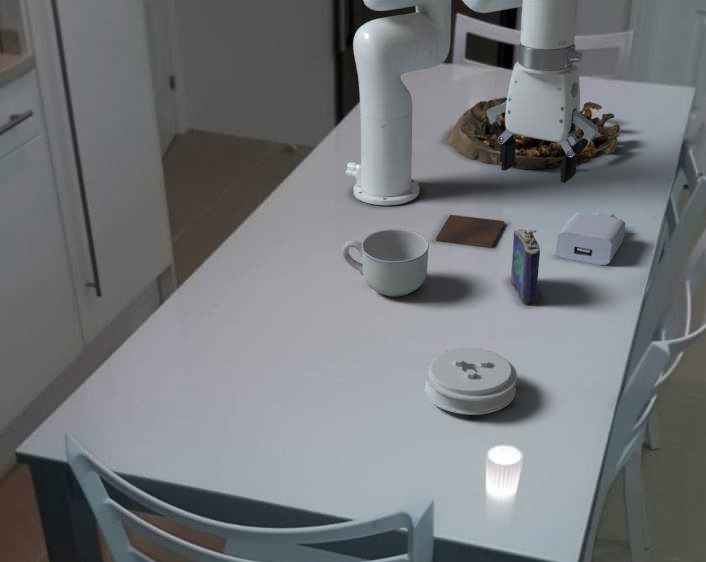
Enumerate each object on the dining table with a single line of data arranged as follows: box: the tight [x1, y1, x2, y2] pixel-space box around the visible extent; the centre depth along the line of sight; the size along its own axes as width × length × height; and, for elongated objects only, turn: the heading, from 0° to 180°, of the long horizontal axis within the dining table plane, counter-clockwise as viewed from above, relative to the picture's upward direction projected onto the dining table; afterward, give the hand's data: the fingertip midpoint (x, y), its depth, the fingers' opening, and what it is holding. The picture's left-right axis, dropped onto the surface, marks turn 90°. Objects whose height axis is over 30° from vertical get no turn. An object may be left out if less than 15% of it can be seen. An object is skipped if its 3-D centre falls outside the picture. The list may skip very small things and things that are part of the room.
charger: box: [555, 211, 626, 266], centre depth 187 cm, size 5×9×15 cm
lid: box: [423, 347, 518, 416], centre depth 151 cm, size 13×13×5 cm
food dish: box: [445, 96, 621, 170], centre depth 225 cm, size 35×33×8 cm
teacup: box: [341, 228, 430, 298], centre depth 175 cm, size 14×11×8 cm
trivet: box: [435, 214, 505, 248], centre depth 193 cm, size 10×10×1 cm
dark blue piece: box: [510, 228, 541, 307], centre depth 172 cm, size 9×3×11 cm, turn 8°
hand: (536, 173), depth 163 cm, fingers open, 9 cm apart
